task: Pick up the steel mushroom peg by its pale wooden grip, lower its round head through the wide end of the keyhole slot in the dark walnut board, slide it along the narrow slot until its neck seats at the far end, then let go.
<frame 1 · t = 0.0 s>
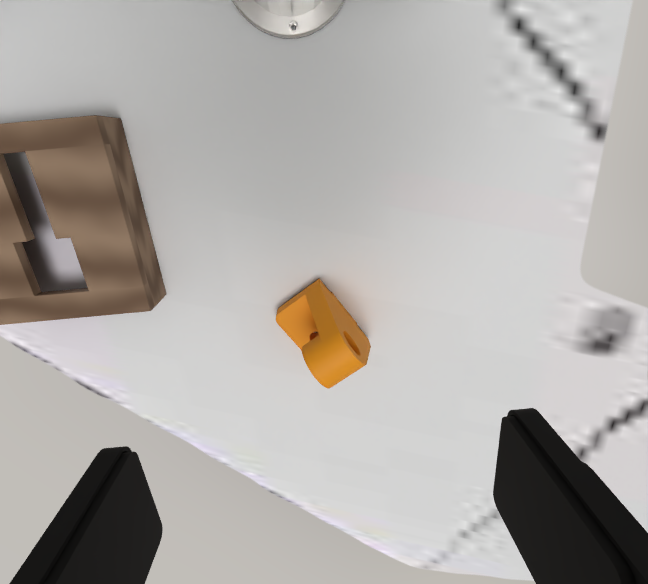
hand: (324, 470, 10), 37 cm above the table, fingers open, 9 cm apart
keyhole board: (67, 221, 43), on the table
bracket: (321, 322, 49), on the table
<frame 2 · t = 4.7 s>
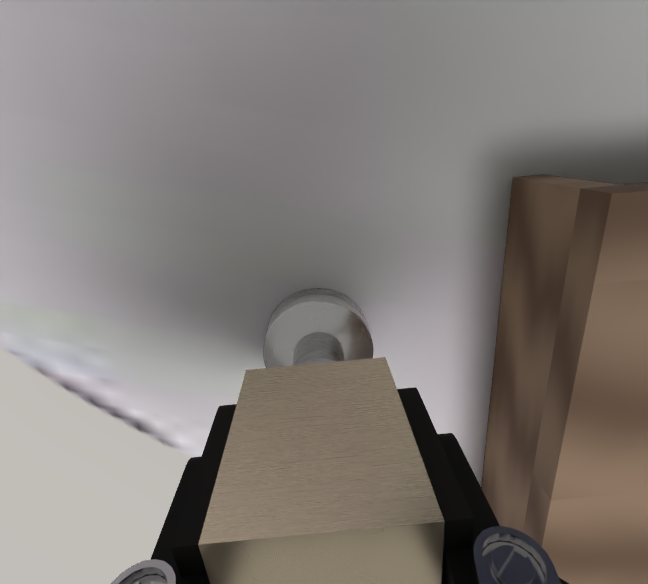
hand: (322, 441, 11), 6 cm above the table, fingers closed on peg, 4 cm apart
peg: (317, 335, 16), on the table, touching gripper
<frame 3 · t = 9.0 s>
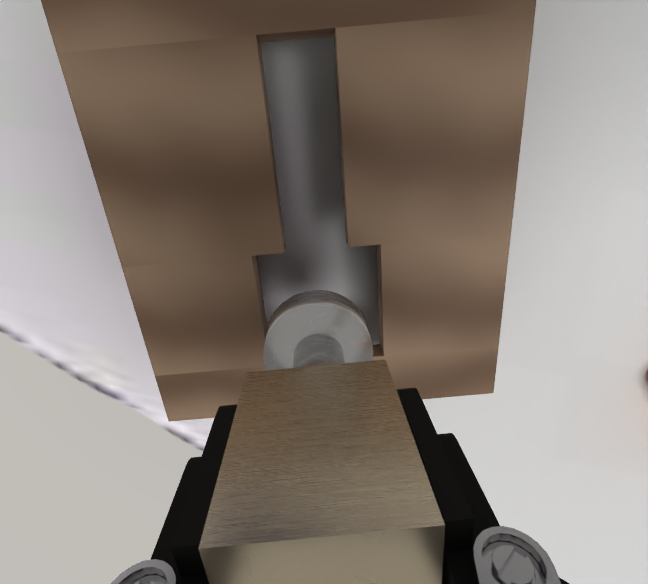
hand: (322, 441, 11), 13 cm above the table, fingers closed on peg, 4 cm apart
keyhole board: (313, 209, 21), on the table
peg: (317, 336, 16), point 7 cm above the table, touching gripper
when the fingers open (7 cm above the table, at t = 13.6 s): peg stays where it is, on the table.
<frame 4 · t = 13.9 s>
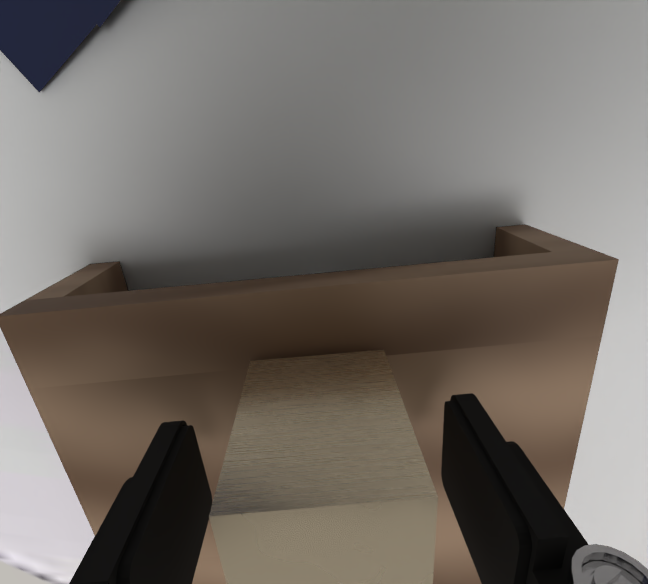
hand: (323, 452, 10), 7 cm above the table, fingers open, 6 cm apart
keyhole board: (327, 434, 19), on the table
peg: (318, 330, 17), on the table
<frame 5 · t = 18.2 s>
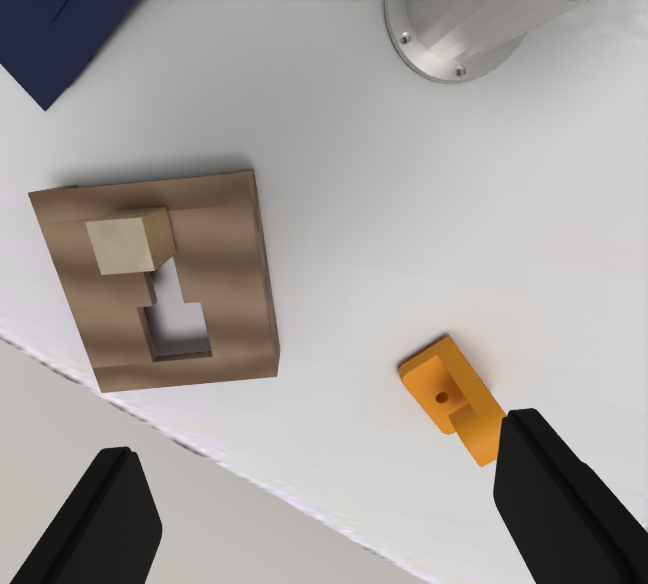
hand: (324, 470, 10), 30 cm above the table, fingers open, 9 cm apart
keyhole board: (182, 276, 39), on the table
bracket: (441, 378, 46), on the table
peg: (169, 219, 37), on the table
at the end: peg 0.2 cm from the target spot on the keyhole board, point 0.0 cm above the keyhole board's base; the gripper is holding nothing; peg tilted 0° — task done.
